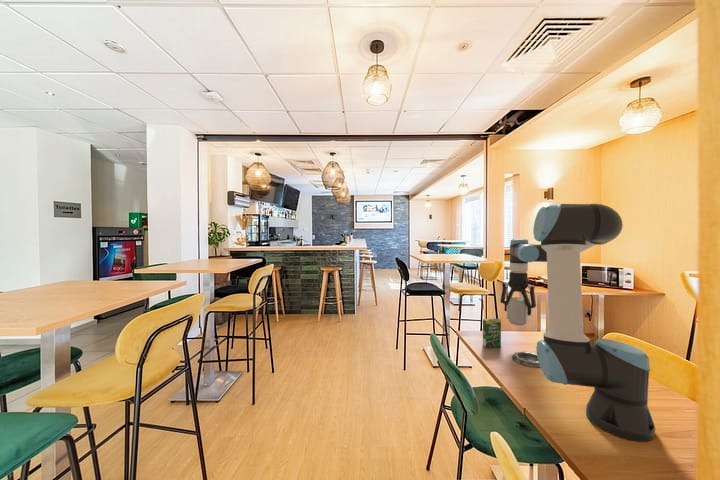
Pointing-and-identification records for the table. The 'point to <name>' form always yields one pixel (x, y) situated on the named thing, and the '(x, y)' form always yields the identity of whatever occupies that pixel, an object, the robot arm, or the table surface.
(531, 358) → the flange socket
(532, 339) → the table surface
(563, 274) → the robot arm
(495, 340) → the coffee box
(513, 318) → the can
